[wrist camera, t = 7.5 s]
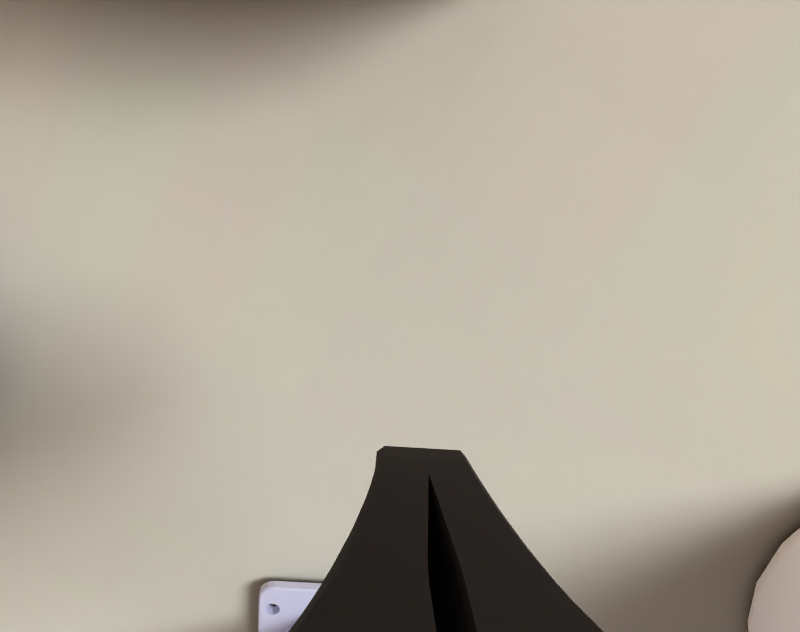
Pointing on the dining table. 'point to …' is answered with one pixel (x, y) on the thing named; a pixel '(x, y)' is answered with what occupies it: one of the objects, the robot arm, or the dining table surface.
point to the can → (778, 591)
